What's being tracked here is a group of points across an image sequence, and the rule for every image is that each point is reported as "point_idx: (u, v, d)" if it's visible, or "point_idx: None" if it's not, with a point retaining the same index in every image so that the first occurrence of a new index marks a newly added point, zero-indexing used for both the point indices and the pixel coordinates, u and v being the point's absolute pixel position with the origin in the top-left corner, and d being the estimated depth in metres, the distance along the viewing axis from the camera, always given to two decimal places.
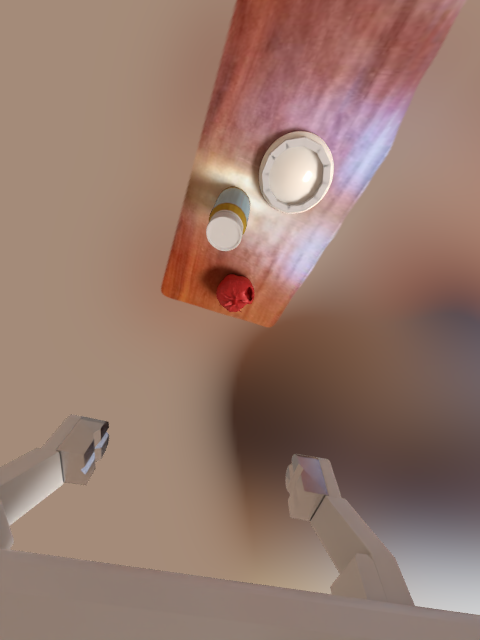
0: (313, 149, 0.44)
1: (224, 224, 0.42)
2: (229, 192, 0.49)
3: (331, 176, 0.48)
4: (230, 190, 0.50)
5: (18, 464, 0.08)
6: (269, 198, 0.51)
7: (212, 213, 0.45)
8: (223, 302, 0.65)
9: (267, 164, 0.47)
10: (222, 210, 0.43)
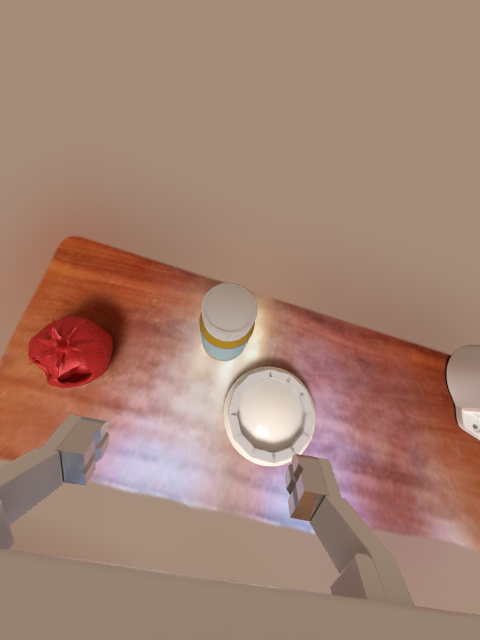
0: (305, 426, 0.37)
1: (245, 308, 0.28)
2: None
3: (279, 463, 0.36)
4: None
5: (18, 464, 0.08)
6: (243, 384, 0.38)
7: None
8: (57, 326, 0.34)
9: (280, 374, 0.39)
10: None
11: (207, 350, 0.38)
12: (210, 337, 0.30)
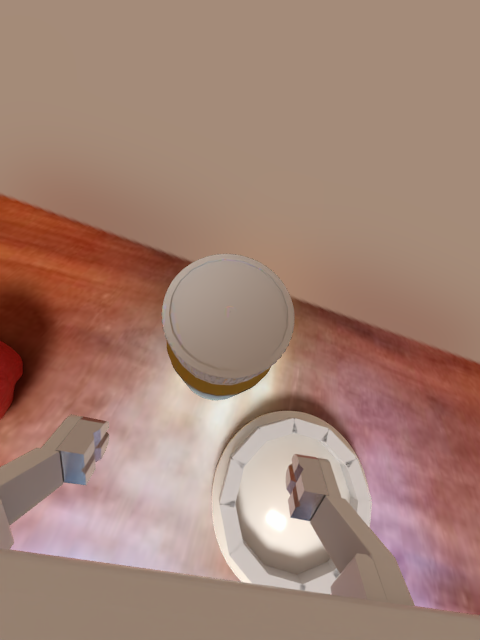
0: None
1: (267, 313, 0.12)
2: None
3: None
4: None
5: (18, 464, 0.08)
6: (247, 445, 0.22)
7: None
8: None
9: (311, 426, 0.23)
10: None
11: None
12: (186, 373, 0.14)
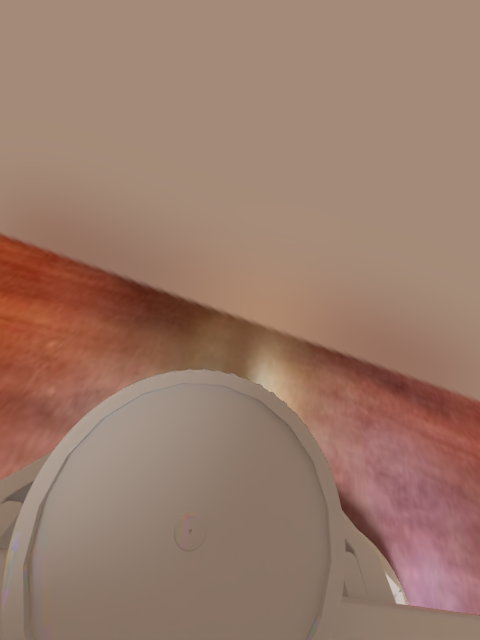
0: None
1: (279, 525, 0.05)
2: None
3: None
4: None
5: (36, 467, 0.08)
6: None
7: None
8: None
9: None
10: None
11: None
12: None
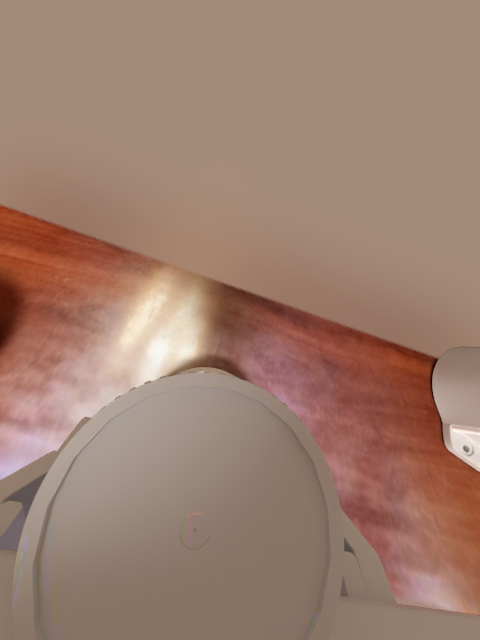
0: None
1: (281, 523, 0.05)
2: None
3: None
4: None
5: (36, 467, 0.08)
6: None
7: None
8: None
9: None
10: None
11: None
12: None
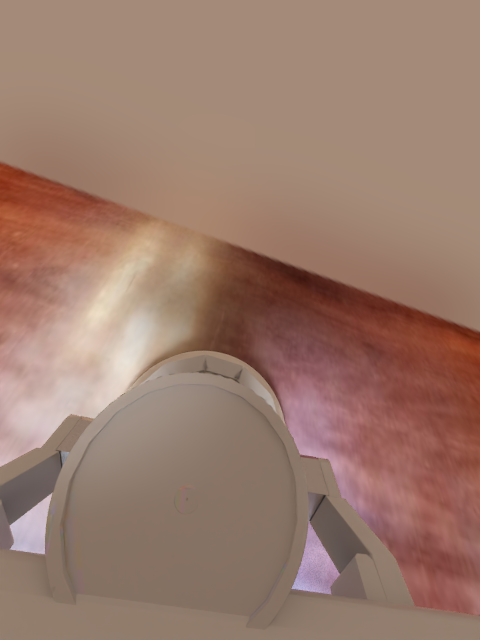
0: None
1: (257, 494, 0.06)
2: None
3: None
4: None
5: (18, 464, 0.08)
6: (149, 380, 0.20)
7: None
8: None
9: (224, 364, 0.21)
10: None
11: None
12: None
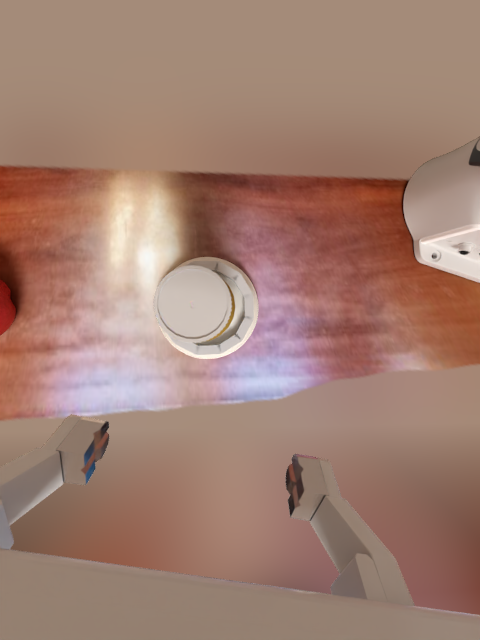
0: (246, 310, 0.34)
1: (213, 297, 0.20)
2: None
3: (228, 352, 0.35)
4: None
5: (18, 464, 0.08)
6: None
7: None
8: None
9: (205, 263, 0.33)
10: None
11: None
12: None
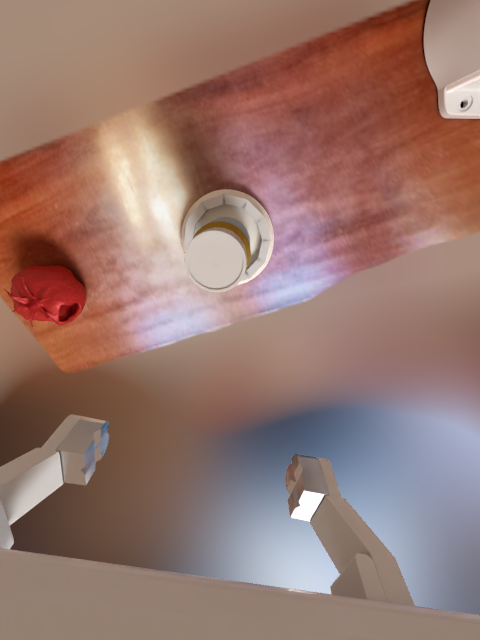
0: (262, 234, 0.37)
1: (229, 252, 0.24)
2: (242, 226, 0.34)
3: (256, 274, 0.40)
4: (242, 225, 0.35)
5: (18, 464, 0.08)
6: (186, 233, 0.37)
7: (217, 224, 0.27)
8: (16, 292, 0.37)
9: (213, 200, 0.35)
10: (235, 234, 0.26)
11: None
12: None
